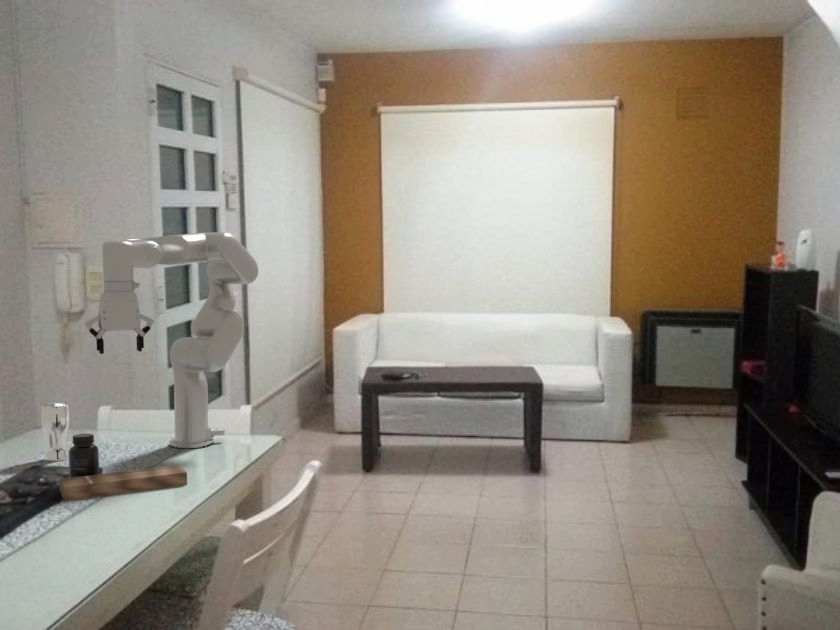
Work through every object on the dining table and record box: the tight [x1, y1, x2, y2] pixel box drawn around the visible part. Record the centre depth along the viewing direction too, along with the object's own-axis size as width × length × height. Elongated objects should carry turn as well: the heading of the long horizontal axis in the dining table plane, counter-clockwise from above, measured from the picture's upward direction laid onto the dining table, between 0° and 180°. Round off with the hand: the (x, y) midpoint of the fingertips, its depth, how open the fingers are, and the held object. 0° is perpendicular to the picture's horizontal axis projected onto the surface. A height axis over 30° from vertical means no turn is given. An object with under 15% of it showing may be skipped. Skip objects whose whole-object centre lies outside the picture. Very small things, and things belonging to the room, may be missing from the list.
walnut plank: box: [59, 464, 188, 501], centre depth 204 cm, size 28×8×3 cm, turn 119°
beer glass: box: [40, 402, 70, 462], centre depth 231 cm, size 7×7×15 cm
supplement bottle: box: [68, 433, 100, 478], centre depth 207 cm, size 7×7×12 cm
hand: (120, 352), depth 224 cm, fingers open, 9 cm apart
